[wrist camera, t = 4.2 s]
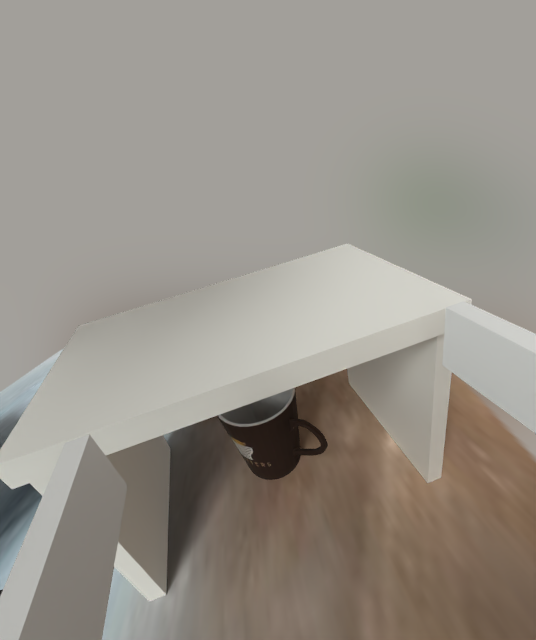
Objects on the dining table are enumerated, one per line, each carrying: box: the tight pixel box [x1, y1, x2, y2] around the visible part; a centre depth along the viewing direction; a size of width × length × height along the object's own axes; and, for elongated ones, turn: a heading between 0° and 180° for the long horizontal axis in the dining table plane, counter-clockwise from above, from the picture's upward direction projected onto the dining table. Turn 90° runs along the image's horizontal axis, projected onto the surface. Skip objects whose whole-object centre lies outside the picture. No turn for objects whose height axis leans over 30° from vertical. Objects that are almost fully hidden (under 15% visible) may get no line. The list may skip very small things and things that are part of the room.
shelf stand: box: [0, 244, 472, 602], centre depth 30 cm, size 17×30×20 cm, turn 105°
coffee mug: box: [217, 388, 327, 480], centre depth 33 cm, size 12×9×10 cm
